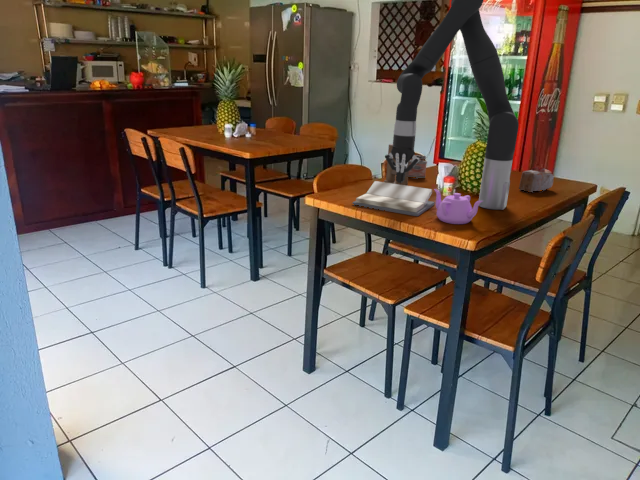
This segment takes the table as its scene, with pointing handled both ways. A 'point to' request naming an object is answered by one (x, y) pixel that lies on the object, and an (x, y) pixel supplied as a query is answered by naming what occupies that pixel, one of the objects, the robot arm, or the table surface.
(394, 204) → the white flat slab
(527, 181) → the food item
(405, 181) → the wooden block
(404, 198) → the loose plank
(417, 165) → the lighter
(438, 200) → the teapot
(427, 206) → the underlay mat
